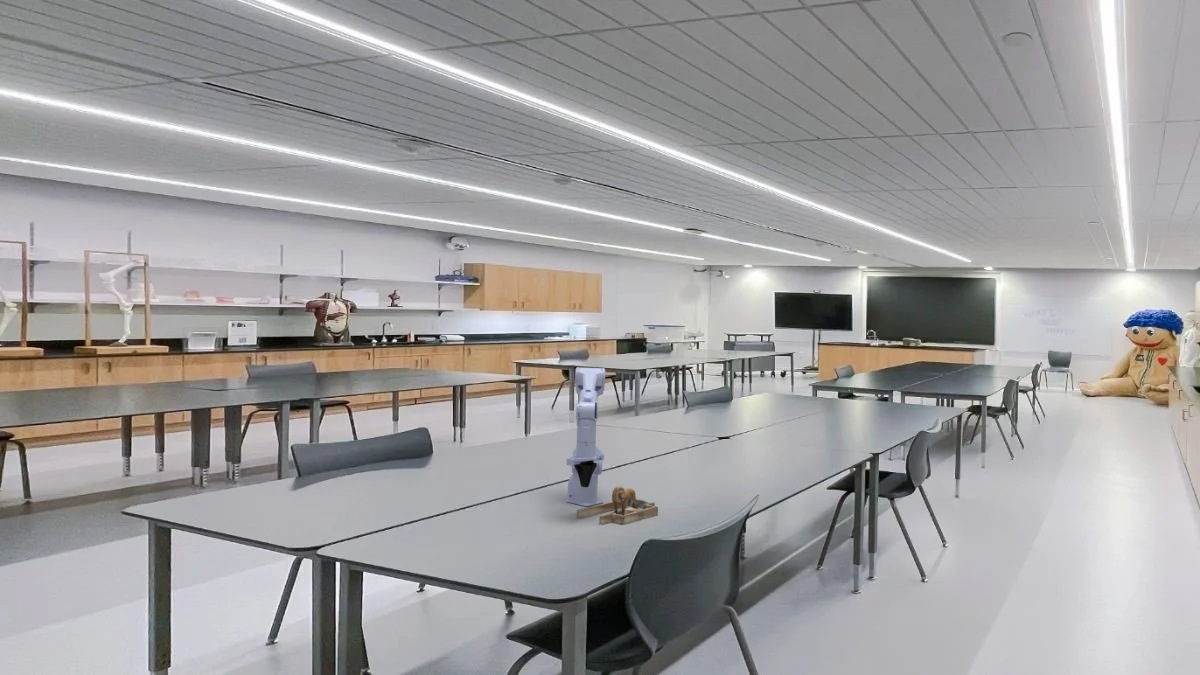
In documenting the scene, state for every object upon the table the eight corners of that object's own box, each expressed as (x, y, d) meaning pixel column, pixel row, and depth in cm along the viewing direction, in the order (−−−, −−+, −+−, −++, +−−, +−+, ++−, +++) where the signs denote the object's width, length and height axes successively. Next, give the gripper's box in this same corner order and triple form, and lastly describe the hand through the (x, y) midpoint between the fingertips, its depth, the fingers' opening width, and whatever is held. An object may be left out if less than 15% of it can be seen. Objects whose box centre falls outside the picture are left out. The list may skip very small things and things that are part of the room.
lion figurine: (624, 518, 237) (624, 488, 236) (607, 515, 239) (608, 486, 238) (640, 507, 250) (641, 479, 250) (624, 505, 252) (625, 477, 252)
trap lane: (576, 518, 235) (577, 508, 235) (629, 504, 254) (630, 496, 253) (612, 527, 226) (612, 518, 225) (664, 513, 244) (664, 504, 244)
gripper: (579, 445, 227) (577, 492, 227) (612, 440, 238) (610, 485, 238) (561, 442, 232) (560, 488, 232) (594, 437, 242) (593, 481, 243)
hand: (584, 486), depth 235 cm, fingers closed
